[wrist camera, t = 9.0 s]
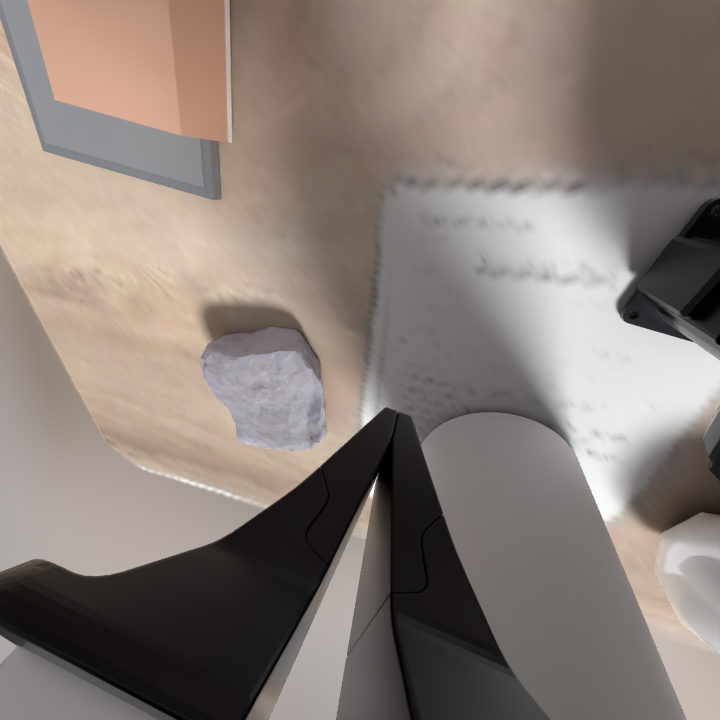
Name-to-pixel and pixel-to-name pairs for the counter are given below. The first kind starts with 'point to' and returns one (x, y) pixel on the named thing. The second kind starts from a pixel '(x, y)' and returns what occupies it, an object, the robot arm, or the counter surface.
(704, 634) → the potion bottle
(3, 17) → the slate board
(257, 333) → the stone block
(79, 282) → the counter surface
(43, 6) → the salmon orange block
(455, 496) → the cylinder vase
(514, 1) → the counter surface
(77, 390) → the counter surface
